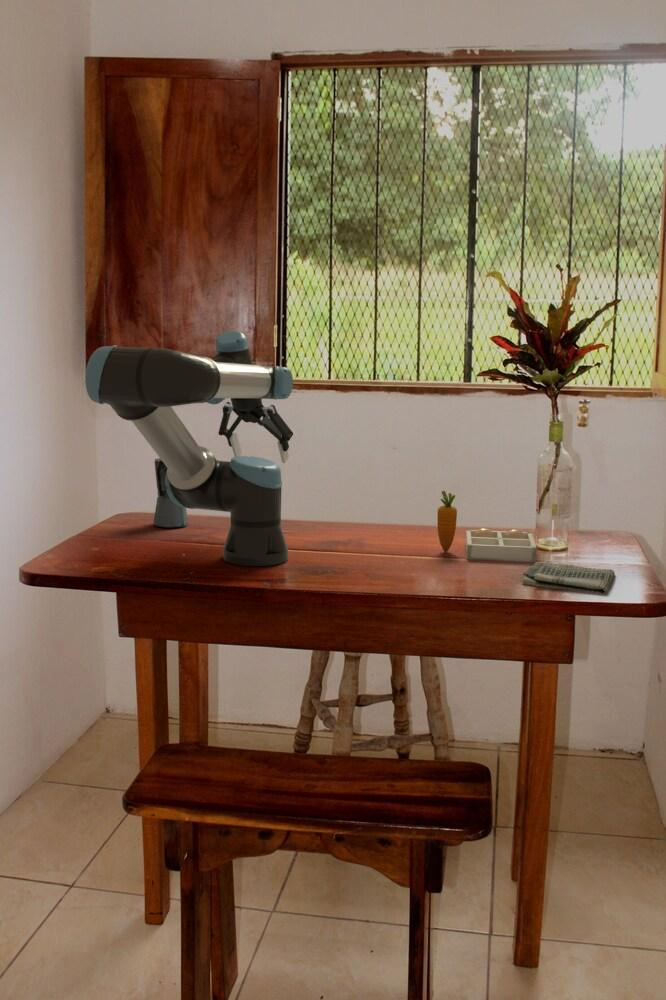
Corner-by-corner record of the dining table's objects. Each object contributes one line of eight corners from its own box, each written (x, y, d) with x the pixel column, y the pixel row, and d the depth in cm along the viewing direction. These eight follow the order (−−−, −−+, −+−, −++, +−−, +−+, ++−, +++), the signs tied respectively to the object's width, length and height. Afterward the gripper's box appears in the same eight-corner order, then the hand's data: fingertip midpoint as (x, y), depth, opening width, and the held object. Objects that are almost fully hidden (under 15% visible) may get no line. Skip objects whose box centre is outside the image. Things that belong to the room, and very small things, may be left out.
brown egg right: (524, 550, 256) (525, 531, 255) (505, 549, 256) (506, 531, 255) (523, 545, 260) (524, 527, 259) (504, 544, 261) (505, 526, 260)
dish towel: (616, 577, 237) (617, 563, 237) (606, 597, 221) (607, 583, 220) (533, 567, 244) (534, 554, 243) (518, 587, 227) (519, 573, 227)
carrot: (459, 554, 253) (461, 492, 250) (439, 555, 252) (442, 493, 249) (451, 549, 258) (453, 489, 255) (432, 550, 256) (434, 489, 253)
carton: (535, 562, 247) (536, 547, 246) (466, 559, 248) (467, 544, 247) (530, 546, 262) (531, 532, 261) (465, 543, 264) (466, 529, 263)
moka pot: (197, 520, 284) (196, 447, 280) (178, 533, 269) (178, 455, 265) (163, 518, 286) (162, 445, 282) (143, 531, 271) (141, 454, 267)
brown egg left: (493, 548, 257) (494, 530, 256) (474, 548, 257) (475, 529, 256) (492, 544, 261) (493, 526, 260) (473, 543, 262) (474, 525, 261)
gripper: (295, 384, 259) (310, 452, 272) (205, 379, 268) (225, 445, 282) (283, 401, 254) (300, 470, 267) (193, 395, 263) (213, 462, 276)
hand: (261, 457), depth 274 cm, fingers open, 13 cm apart
